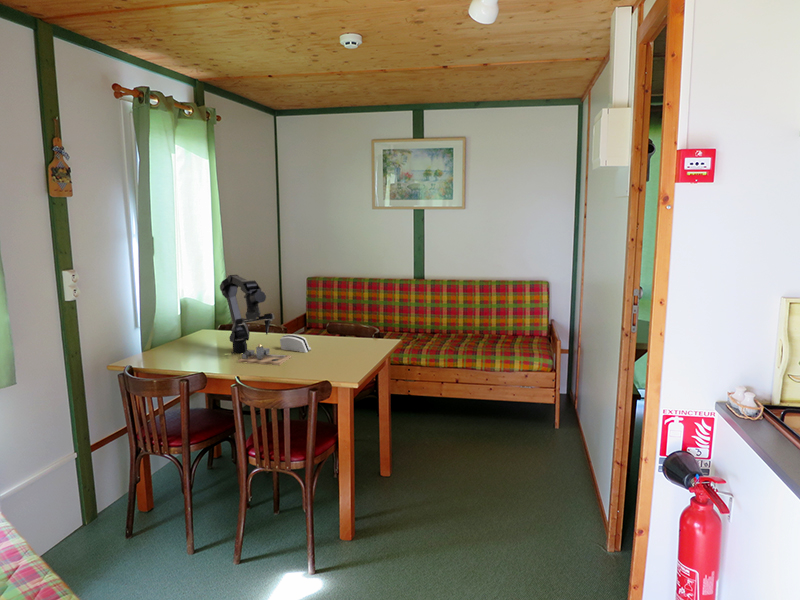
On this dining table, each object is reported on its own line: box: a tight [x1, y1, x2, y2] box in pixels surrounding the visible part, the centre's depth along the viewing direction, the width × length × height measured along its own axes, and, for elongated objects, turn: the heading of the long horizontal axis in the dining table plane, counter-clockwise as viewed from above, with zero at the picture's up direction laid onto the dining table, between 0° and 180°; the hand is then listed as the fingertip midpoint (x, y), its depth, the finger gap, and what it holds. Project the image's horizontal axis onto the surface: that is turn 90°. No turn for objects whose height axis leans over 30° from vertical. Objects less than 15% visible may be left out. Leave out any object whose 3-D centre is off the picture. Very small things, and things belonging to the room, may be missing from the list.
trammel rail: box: [241, 349, 286, 359], centre depth 282 cm, size 20×8×3 cm, turn 78°
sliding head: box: [255, 343, 271, 359], centre depth 282 cm, size 4×8×7 cm, turn 168°
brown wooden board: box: [237, 353, 292, 366], centre depth 282 cm, size 22×14×1 cm, turn 78°
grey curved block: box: [279, 333, 312, 353], centre depth 302 cm, size 17×5×10 cm, turn 64°
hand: (257, 336), depth 280 cm, fingers open, 9 cm apart
